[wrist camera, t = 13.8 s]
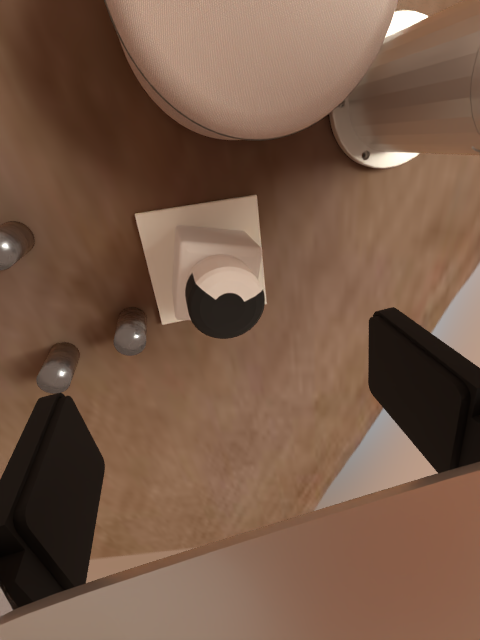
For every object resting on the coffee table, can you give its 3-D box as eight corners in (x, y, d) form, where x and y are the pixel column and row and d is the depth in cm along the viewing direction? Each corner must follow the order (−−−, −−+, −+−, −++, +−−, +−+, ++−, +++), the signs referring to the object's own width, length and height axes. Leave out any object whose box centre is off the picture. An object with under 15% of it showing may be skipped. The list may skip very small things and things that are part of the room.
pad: (255, 194, 36) (256, 195, 35) (265, 301, 41) (266, 303, 41) (134, 213, 34) (134, 214, 33) (162, 322, 40) (162, 324, 39)
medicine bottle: (236, 294, 39) (266, 349, 29) (171, 291, 38) (178, 349, 27) (245, 230, 36) (282, 265, 26) (175, 223, 35) (183, 258, 24)
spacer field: (116, 205, 33) (110, 214, 29) (154, 347, 41) (154, 372, 36) (-93, 237, 31) (-134, 252, 27) (-12, 382, 38) (-33, 412, 34)
